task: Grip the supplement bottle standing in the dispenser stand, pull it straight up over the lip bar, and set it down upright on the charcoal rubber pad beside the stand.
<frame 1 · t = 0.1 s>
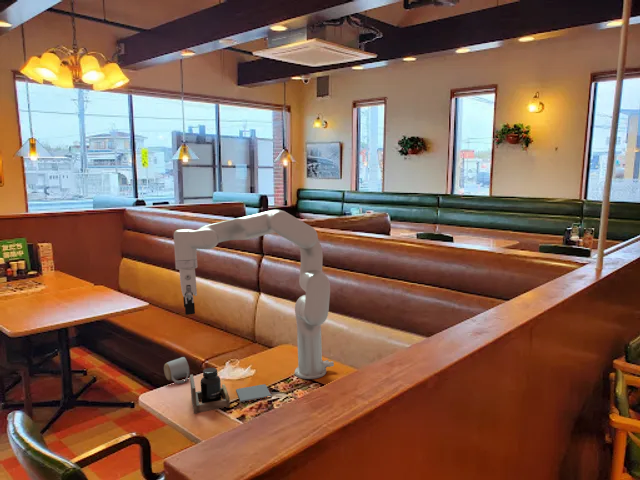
hand: (189, 310, 170), 31 cm above the table, tool pointing down, fingers open, 9 cm apart
rubber pad: (253, 394, 172), on the table
ceramic mug: (179, 379, 187), on the table
supplement bottle: (211, 403, 166), resting in dispenser stand
dispenser stand: (211, 402, 166), on the table
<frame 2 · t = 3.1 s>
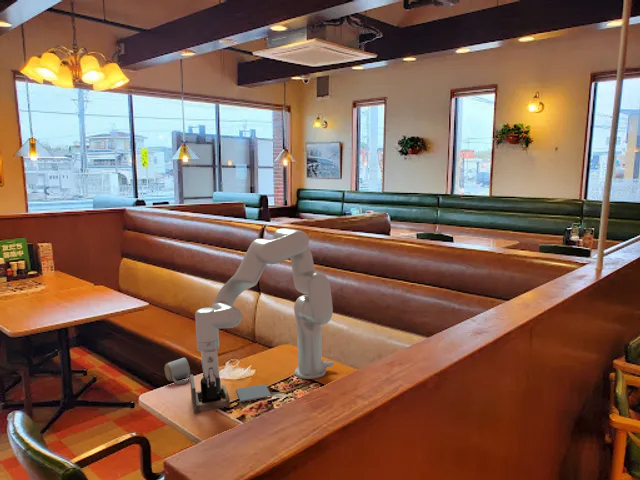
hand: (211, 392, 165), 4 cm above the table, tool pointing down, fingers closed on supplement bottle, 6 cm apart
supplement bottle: (211, 403, 166), resting in dispenser stand, touching gripper
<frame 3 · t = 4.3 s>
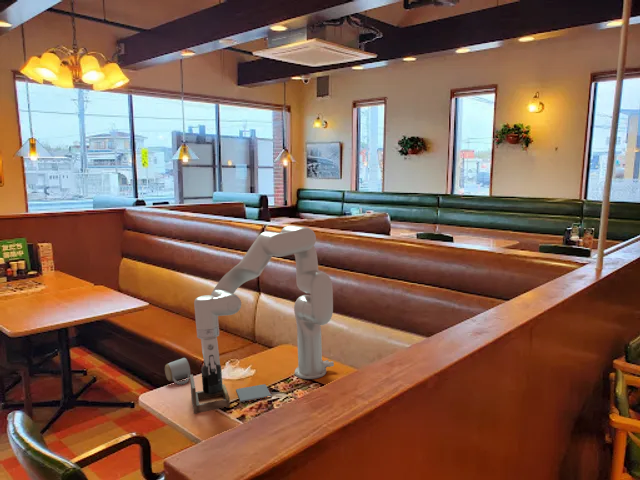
hand: (212, 380, 165), 8 cm above the table, tool pointing down, fingers closed on supplement bottle, 6 cm apart
supplement bottle: (213, 390, 166), point 4 cm above the table, touching gripper
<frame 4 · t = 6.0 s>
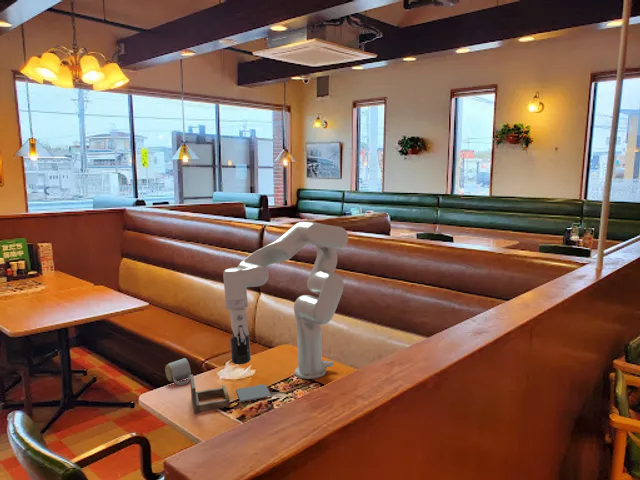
hand: (240, 351, 168), 17 cm above the table, tool pointing down, fingers closed on supplement bottle, 6 cm apart
supplement bottle: (241, 361, 169), point 13 cm above the table, touching gripper
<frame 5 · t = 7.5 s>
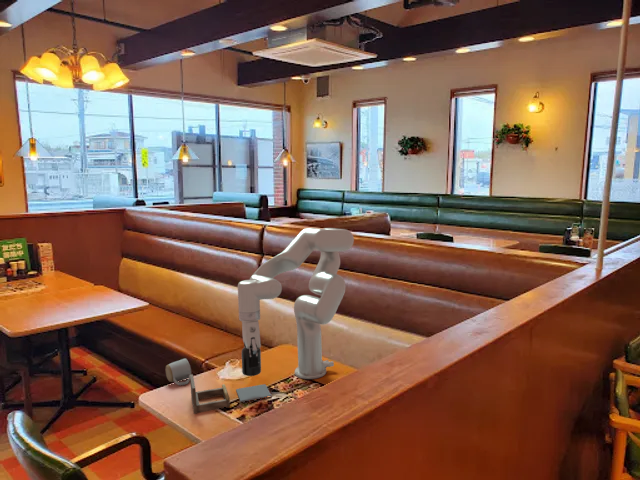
hand: (251, 362, 170), 12 cm above the table, tool pointing down, fingers closed on supplement bottle, 6 cm apart
supplement bottle: (251, 373, 170), point 8 cm above the table, touching gripper
when the fingers open (6 cm above the table, at t = 9.0 s): supplement bottle drops 2 cm, resting on rubber pad.
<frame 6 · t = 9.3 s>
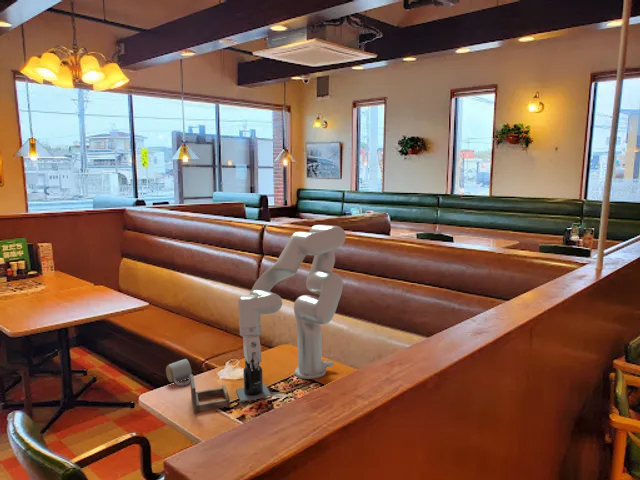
hand: (252, 375, 171), 7 cm above the table, tool pointing down, fingers open, 9 cm apart
supplement bottle: (253, 392, 172), point 1 cm above the table, touching rubber pad
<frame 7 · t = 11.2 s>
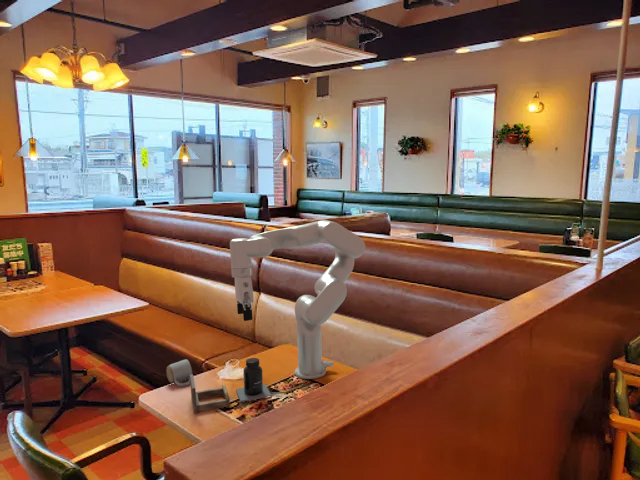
hand: (244, 316, 176), 27 cm above the table, tool pointing down, fingers open, 9 cm apart
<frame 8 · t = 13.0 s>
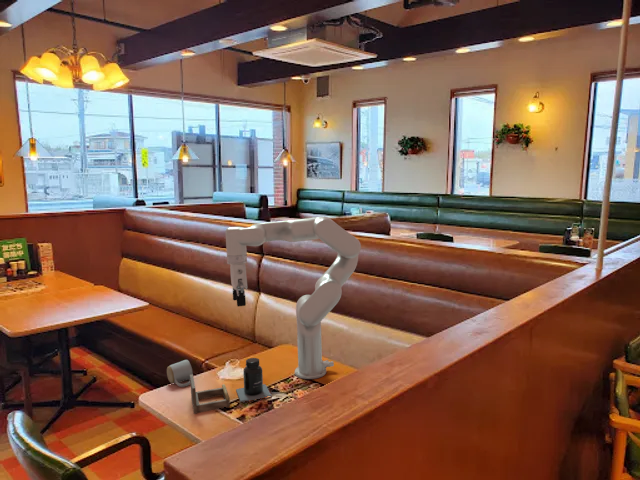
hand: (239, 302, 182), 30 cm above the table, tool pointing down, fingers open, 9 cm apart
at the end: supplement bottle inside the target area (0.3 cm from its centre), point 0.6 cm above the table; supplement bottle tilted 0°; the gripper is holding nothing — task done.
